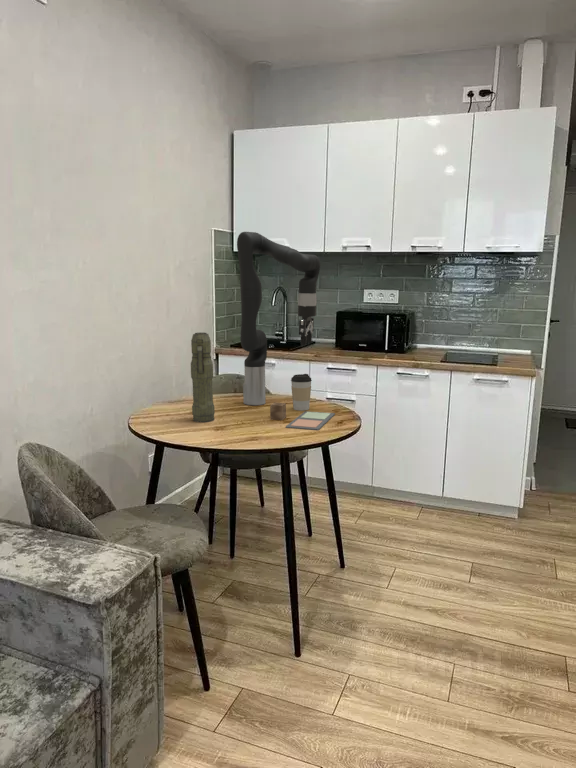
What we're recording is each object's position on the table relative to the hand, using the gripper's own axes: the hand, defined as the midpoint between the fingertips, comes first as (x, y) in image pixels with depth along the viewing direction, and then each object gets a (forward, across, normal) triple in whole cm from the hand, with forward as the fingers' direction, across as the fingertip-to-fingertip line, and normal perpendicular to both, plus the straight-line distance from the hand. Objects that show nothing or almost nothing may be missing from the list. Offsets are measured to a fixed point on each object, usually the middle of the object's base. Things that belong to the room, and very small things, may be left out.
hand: (306, 343), depth 238 cm
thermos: (+30, +24, -36) cm, 52 cm away
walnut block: (+29, +13, -7) cm, 33 cm away
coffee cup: (+29, -6, -3) cm, 30 cm away
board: (+29, +14, +7) cm, 32 cm away
